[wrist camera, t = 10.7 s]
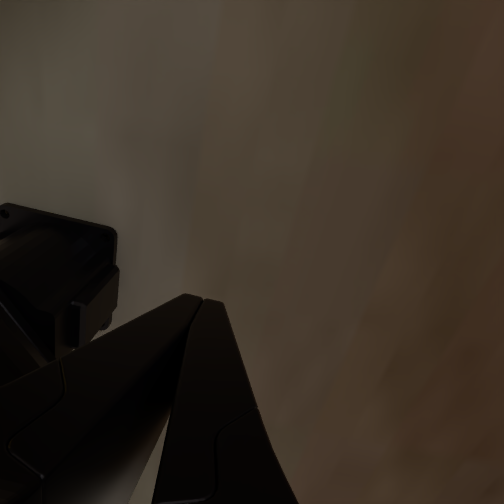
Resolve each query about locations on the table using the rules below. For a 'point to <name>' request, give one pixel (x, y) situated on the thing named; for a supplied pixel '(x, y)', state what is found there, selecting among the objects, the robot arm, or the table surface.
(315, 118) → the table surface
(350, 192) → the table surface
